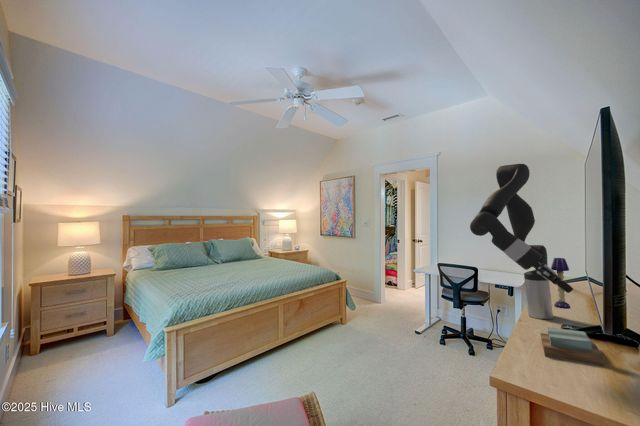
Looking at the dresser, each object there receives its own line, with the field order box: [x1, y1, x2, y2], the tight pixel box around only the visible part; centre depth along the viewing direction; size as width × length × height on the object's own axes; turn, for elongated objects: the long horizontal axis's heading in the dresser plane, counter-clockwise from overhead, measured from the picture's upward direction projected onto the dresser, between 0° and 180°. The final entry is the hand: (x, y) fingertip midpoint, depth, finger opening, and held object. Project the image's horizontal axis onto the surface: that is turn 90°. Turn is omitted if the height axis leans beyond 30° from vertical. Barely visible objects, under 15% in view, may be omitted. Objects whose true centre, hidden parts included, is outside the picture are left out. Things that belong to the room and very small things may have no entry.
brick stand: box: [540, 327, 605, 367], centre depth 93 cm, size 14×14×6 cm
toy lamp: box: [550, 257, 571, 310], centre depth 95 cm, size 5×5×17 cm
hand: (570, 290), depth 93 cm, fingers closed on toy lamp
